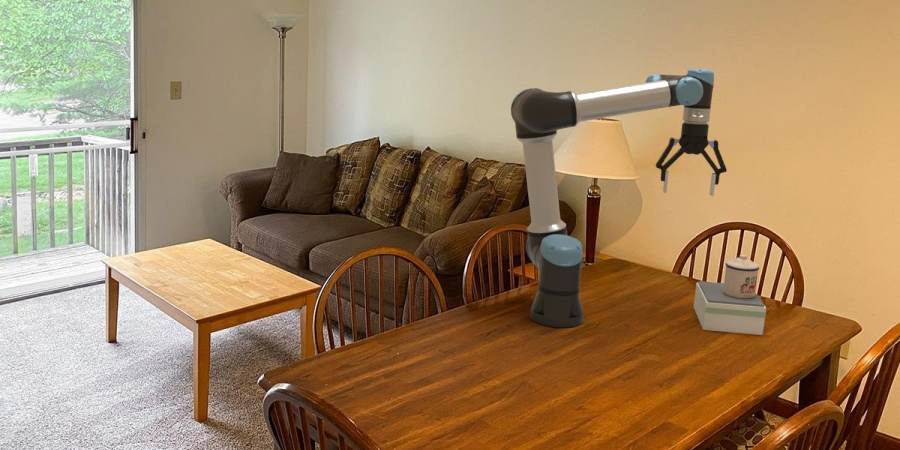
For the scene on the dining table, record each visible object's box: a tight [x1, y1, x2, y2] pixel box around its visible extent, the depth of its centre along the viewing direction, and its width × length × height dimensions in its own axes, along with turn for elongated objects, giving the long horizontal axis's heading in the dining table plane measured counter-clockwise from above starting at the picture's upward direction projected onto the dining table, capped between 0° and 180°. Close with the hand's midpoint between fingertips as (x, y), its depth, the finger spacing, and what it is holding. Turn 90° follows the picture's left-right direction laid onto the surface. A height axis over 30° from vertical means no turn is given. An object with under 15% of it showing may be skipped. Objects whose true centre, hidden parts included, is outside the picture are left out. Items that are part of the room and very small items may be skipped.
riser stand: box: [693, 280, 767, 336], centre depth 229 cm, size 16×20×9 cm
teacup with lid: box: [723, 254, 760, 298], centre depth 227 cm, size 12×9×12 cm
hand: (687, 193), depth 236 cm, fingers open, 13 cm apart
